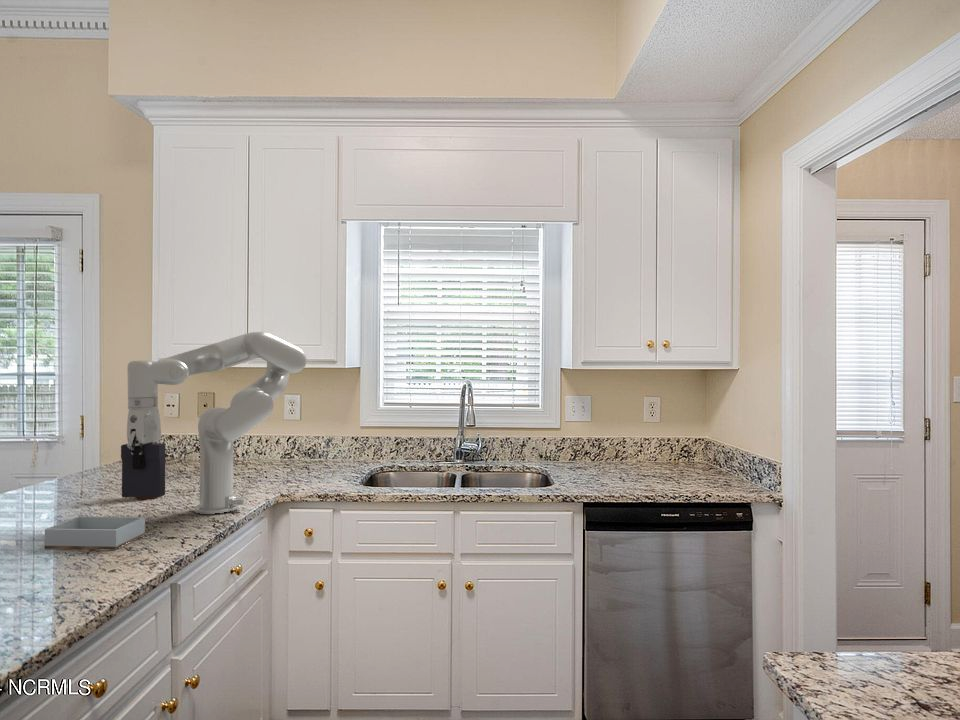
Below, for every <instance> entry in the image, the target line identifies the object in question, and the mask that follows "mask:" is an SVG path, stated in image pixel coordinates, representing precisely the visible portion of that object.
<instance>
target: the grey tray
mask: <svg viewBox="0 0 960 720" xmlns="http://www.w3.org/2000/svg"><path fill="white" fill-rule="evenodd" d="M143 533H145V534H146V517H145V516H138V517H137V516H87V515H85V516H82V515H81V516H77V517H74V518H71V519H68V520H66V521H63V522H60V523H57V524H55V525H53V526H49V527H46V528H44V547H45V546H102V547H116V546H118V545H121V544H123V543H125V542H127V541H129V540H131V539H133V538H135V537H137V536H139V535H141V534H143Z"/></svg>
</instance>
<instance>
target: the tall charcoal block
mask: <svg viewBox="0 0 960 720" xmlns="http://www.w3.org/2000/svg"><path fill="white" fill-rule="evenodd" d="M127 444H128V443H125V444H122V445H120V459H121V497H122V498H135V497H157V498H160V497H164V496H165V495H166V443H162V442H159V443H158V442H157V443H149V444H144V451H143V455H145V468H144V469H133V455H132V454H131V450H130V449H129V448H128V447H127ZM136 444H141V443H136ZM137 447H138V448H139V449H140V446H137Z"/></svg>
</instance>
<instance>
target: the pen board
mask: <svg viewBox="0 0 960 720" xmlns="http://www.w3.org/2000/svg"><path fill="white" fill-rule="evenodd" d="M143 535H145V536H146V532H145V533H143V534H141V535H139V536H137V537H135V538H133V539H131V540H129V541H127V542H125V543H123V544H121V545H118V546H116V547H102V546H45V545H44V550H82V549H117V548H119V547H121V546H122V545H125V544H126V543H128V542H131V541H133V540H135V539H137V538H139V537H141V536H143ZM143 537H144V536H143ZM141 538H142V537H141ZM139 539H140V538H139ZM137 540H138V539H137ZM135 541H136V540H135ZM133 542H134V541H133ZM131 543H132V542H131ZM125 546H126V545H125ZM121 548H122V547H121ZM119 549H120V548H119ZM117 550H118V549H117Z"/></svg>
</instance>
